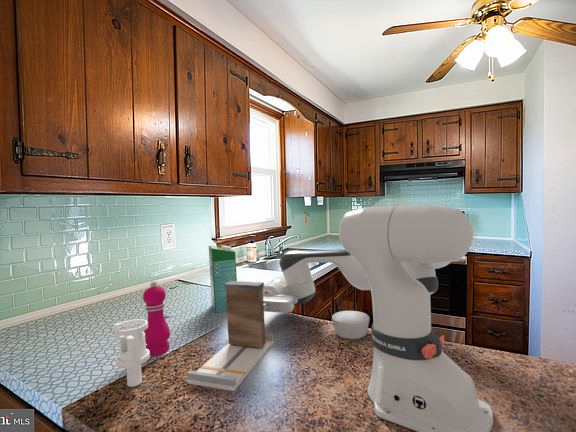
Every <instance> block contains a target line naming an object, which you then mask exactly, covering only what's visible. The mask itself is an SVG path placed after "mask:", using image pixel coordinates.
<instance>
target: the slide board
mask: <svg viewBox="0 0 576 432" xmlns="http://www.w3.org/2000/svg"><path fill="white" fill-rule="evenodd" d="M273 345H274V334H269V333H265V344H264V345H263V346H262V347H261V348H259V347H250V346H241V345H232V344H229V342H227V343H226V345H224V346H223V347H222V348H221V349H220V350H219V351H217V352H216V353H215V354H214V355H213V356H212V357H211V358H209V359H208V360H207V362H205V363H204V364H203V365H201V366H200V368H198V369H196V371H195V370H189V371H187V372H186V376H187V384H189V385H195V386H200V387H206V388H207V387H208V388H212V389H213V388H214V389H219V390H224V391H231V392H235V391H236V390H237V388H238V387H239V386H240V385H241V383H242V382H244V380H245V379H246V378H247V376H248V375H249V374H250V373H251V371H252V370H253V369H254V368H255V367H256V365H257V364H258V363H259V362H260V360H261V359H262V358H263V356H264V355H265V354H266V353H267V352H268V350H269V349H270V348H271V347H272V346H273Z"/></svg>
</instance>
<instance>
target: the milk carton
mask: <svg viewBox="0 0 576 432" xmlns="http://www.w3.org/2000/svg"><path fill="white" fill-rule="evenodd" d="M236 256H237V255H236V251H235V250H233V249H232V246H229V245H221V247H220V246H213V245H208V257H209V258H208V259H209V275H210V276H209V278H210V280H209V281H210V297H211V298H210V299H211V300H210V301H211V307H212V309H213V312H214V313H221V312H227V301H226V288H225V284H226V283H228V282H230V281H238V277H237V261H236V260H237V259H236V258H237V257H236Z"/></svg>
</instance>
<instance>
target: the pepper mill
mask: <svg viewBox="0 0 576 432" xmlns="http://www.w3.org/2000/svg"><path fill="white" fill-rule="evenodd" d="M157 282H158V281H152V282H150V287H148V288H146V289H145V290H144V292H143V295H142V300H143V302H144V303H145V304H146V305H145V311H146V312H147V319H146V320H147V321H148V328H147V329H146V330H144V331H143V332H144V333H145V343H146V349H148V350H149V351H150V356H158V355H162V354H164V353H166V352H167V351H169V350H170V341H169V339H170V337H171V330H170V327H169V325H168V324H169V323H167V321H166V318H165V315H164V309H165V302H164V300H165V299H166V297H167V293H166V290H165V289H164V288H163V287H162V286H158V283H157Z"/></svg>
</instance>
